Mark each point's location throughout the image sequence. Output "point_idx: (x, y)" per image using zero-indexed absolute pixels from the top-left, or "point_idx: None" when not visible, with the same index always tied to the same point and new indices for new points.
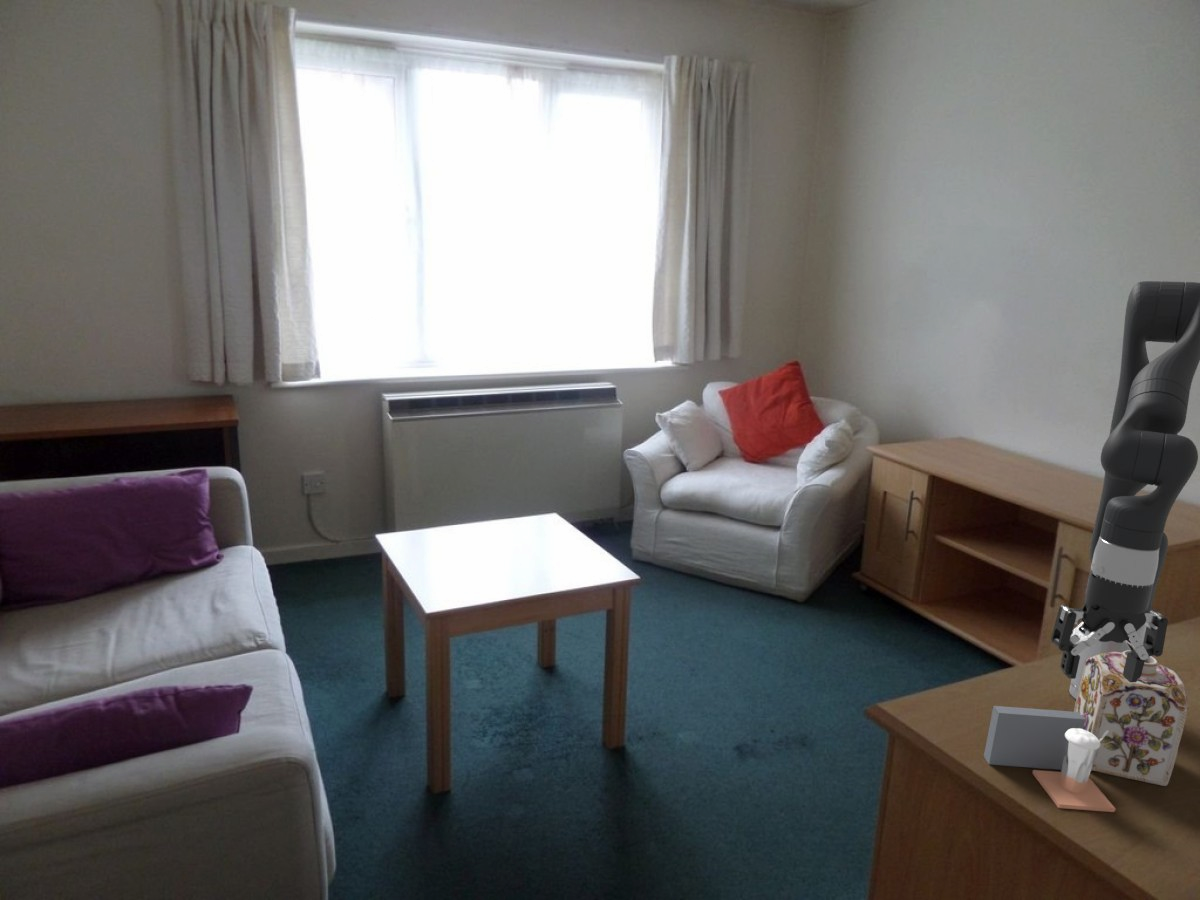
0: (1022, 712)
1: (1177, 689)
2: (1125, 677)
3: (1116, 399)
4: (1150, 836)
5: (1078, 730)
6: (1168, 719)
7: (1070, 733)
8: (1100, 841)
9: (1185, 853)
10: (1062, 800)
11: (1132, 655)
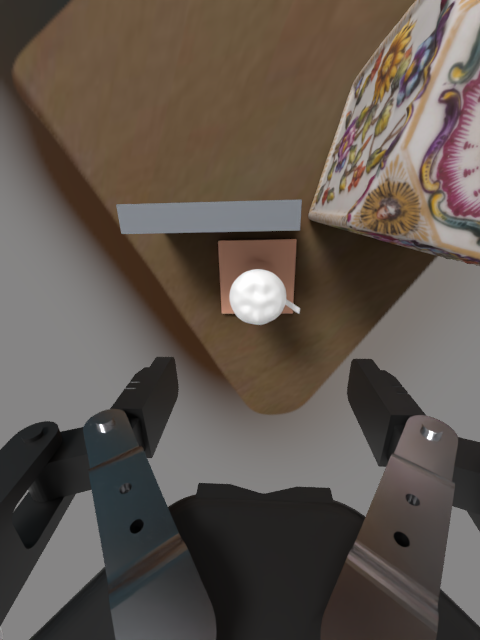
0: (171, 223)
1: None
2: (351, 369)
3: None
4: (309, 347)
5: (254, 289)
6: (471, 263)
7: (234, 298)
8: (244, 360)
9: (331, 369)
10: (229, 305)
11: (390, 437)
